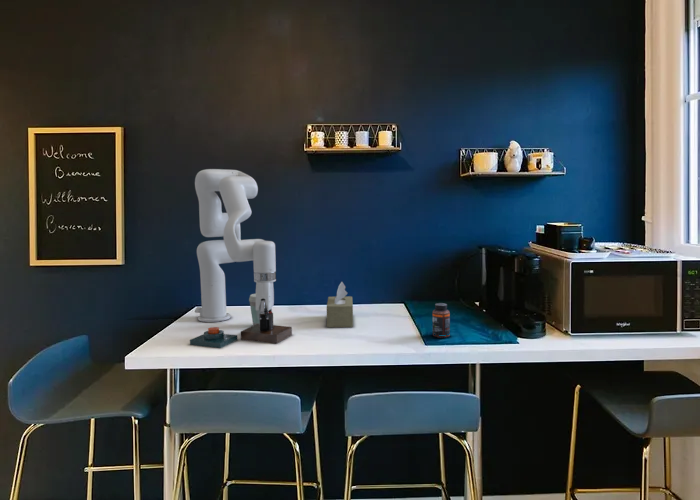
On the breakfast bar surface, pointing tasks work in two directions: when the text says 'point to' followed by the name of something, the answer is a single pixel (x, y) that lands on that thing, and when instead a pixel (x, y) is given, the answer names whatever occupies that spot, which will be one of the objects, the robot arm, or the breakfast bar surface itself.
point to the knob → (270, 319)
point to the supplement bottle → (441, 320)
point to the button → (213, 330)
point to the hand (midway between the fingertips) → (266, 327)
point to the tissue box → (340, 309)
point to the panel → (266, 334)
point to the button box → (213, 339)
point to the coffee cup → (254, 309)
